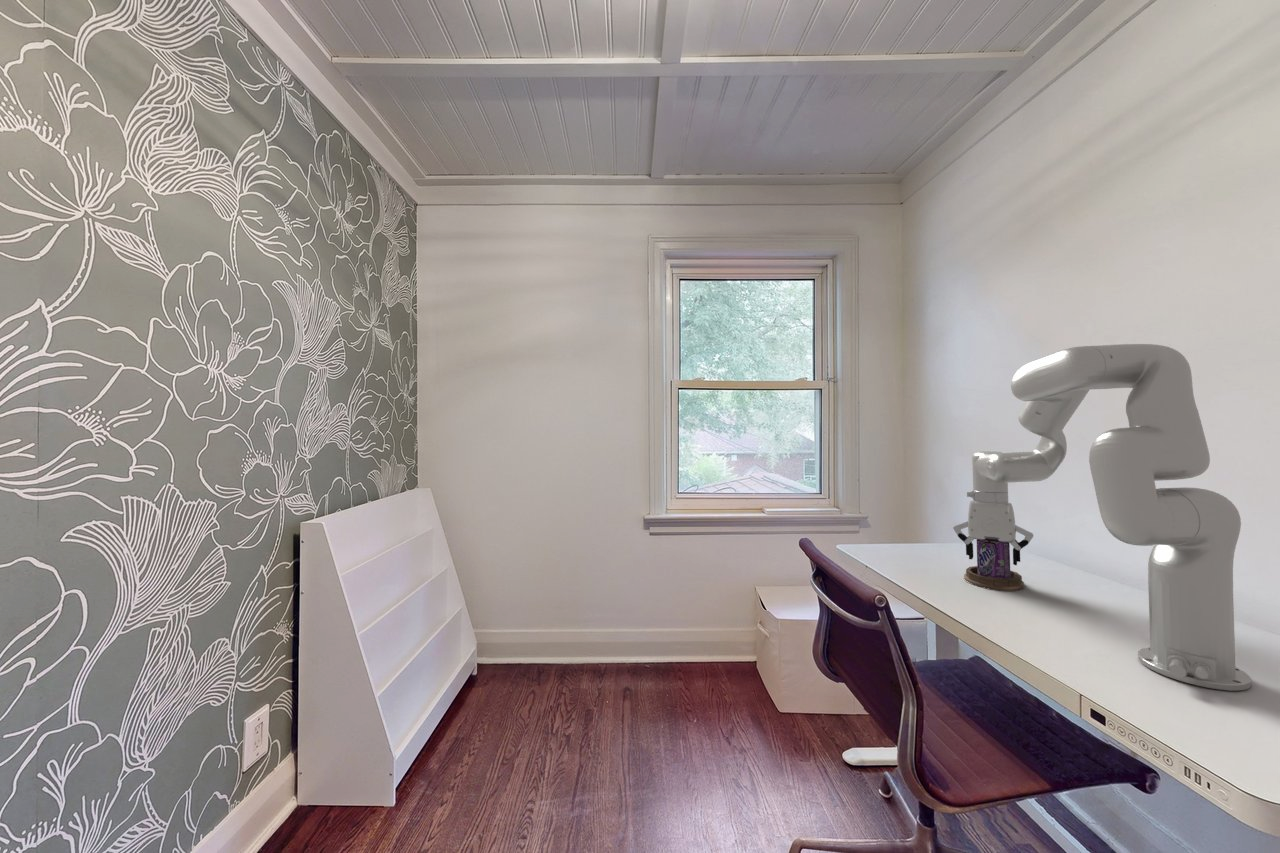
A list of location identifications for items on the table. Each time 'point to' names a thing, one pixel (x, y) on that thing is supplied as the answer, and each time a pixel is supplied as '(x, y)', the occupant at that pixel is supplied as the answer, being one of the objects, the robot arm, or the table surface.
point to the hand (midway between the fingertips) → (992, 560)
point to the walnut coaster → (994, 580)
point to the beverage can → (993, 558)
